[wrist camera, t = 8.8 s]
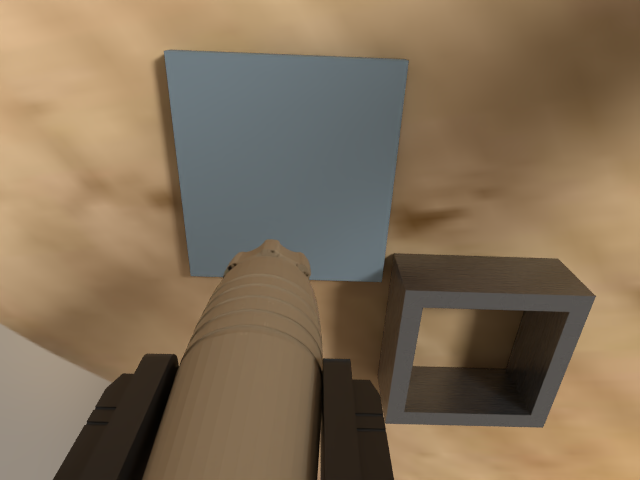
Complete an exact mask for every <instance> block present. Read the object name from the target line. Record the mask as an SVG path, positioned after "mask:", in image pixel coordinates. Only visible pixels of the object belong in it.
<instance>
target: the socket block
mask: <svg viewBox="0 0 640 480" xmlns="http://www.w3.org/2000/svg"><path fill="white" fill-rule="evenodd" d="M595 297H596V296H595V295H594V294H593V293H592V292H591V291H590V290H589V289H588V288H587V287H586V286H585V285H584V284H583V283H582V282H581V281H580V280H579V279H578V278H577V277H576V276H575V275H574V274H573V273H572V272H571V271H570V270H569V269H568V268H567V267H566V266H565V265H564V264H563V263H562V262H561V261H560V260H559V259H547V258H516V257H485V256H454V255H423V254H394V257H393V265H392V272H391V280H390V287H389V295H388V302H387V310H386V317H385V325H384V332H383V340H382V348H381V355H380V363H379V370H378V382H379V388H380V394H381V401H382V407H383V413H384V419H385V423H386V424H426V425H465V426H505V427H543V426H544V424H545V421H546V419H547V416H548V414H549V411H550V409H551V406H552V404H553V401H554V399H555V397H556V394H557V392H558V389H559V387H560V384H561V382H562V379H563V377H564V374H565V372H566V369H567V367H568V364H569V362H570V359H571V357H572V354H573V352H574V349H575V347H576V344H577V342H578V339H579V337H580V334H581V332H582V329H583V327H584V324H585V322H586V319H587V317H588V314H589V312H590V309H591V307H592V304H593V302H594V299H595ZM423 308H456V309H489V310H523V311H524V314H523V317H522V320H521V323H520V327H519V330H518V333H517V336H516V339H515V343H514V346H513V349H512V352H511V355H510V358H509V362H508V365H507V368H506V369H485V368H449V367H413V366H412V365H413V360H414V354H415V349H416V343H417V338H418V332H419V326H420V321H421V315H422V310H423Z"/></svg>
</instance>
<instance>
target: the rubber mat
mask: <svg viewBox="0 0 640 480" xmlns="http://www.w3.org/2000/svg"><path fill="white" fill-rule="evenodd" d="M164 56H165V64H166V73H167V81H168V89H169V98H170V106H171V114H172V123H173V131H174V140H175V148H176V156H177V165H178V173H179V181H180V190H181V198H182V207H183V215H184V223H185V232H186V240H187V248H188V257H189V265H190V273H191V276H205V277H223V274H224V272H225V270H226V268H227V266H228V265H229V263H230V262H231V260H232V259H233V258H234V257H235V256H236V254H238V253H239V252H249V251H252V250H254V249H256V248H258V247H259V246H261V245H262V244H263V243H264V241H265V240H267V239H274V240H278V241H279V242H280V244H281V245H282V246H283V247H285V248H286V249H288V250H290V251H293V252H301V253H303V254H304V255H305V256H306V258H307V259H308V261H309V264H310V269H311V276H310V277H309V280H333V281H365V282H382V276H383V267H384V259H385V251H386V243H387V235H388V226H389V218H390V210H391V202H392V194H393V185H394V177H395V169H396V161H397V153H398V145H399V136H400V128H401V120H402V112H403V104H404V95H405V87H406V79H407V71H408V63H409V61H408V60H406V59H387V58H362V57H337V56H313V55H288V54H263V53H238V52H213V51H188V50H166V51H164Z"/></svg>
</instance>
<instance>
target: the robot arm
mask: <svg viewBox="0 0 640 480" xmlns="http://www.w3.org/2000/svg"><path fill="white" fill-rule="evenodd" d="M178 368H179V365H178V359H177V356H176V355H175V354H146V355H144V357H143V358H142V360H141V362H140V364H139V366H138V368H137V369H136V371H135V373H134V374H122V375H121V376H120V377H118V378H117V379H116V380H115V381H114V382H113V383H112V384H111V385H109V386H108V387H107V388H106V389H105V391H104V393H103V394H102V396H101V398H100V400H99V402H98V403H97V405H96V408H95V410H93V412H92V413H91V415H90V417H89V419H88V420H87V424H86V425H84V427H83V429H82V431H81V432H80V434H79V436H78V437H77V439H76V441H75V443H74V445H73V446H72V448H71V450H70V452H69V453H68V455H67V456H66V458H65V460H64V462H63V463H62V465H61V467H60V469H59V470H58V472H57V474H56V475H55V477H54V479H53V480H142V478H143V475H144V472H145V469H146V466H147V463H148V460H149V456H150V453H151V450H152V447H153V444H154V441H155V438H156V435H157V432H158V429H159V425H160V422H161V419H162V416H163V413H164V410H165V407H166V404H167V401H168V397H169V394H170V391H171V388H172V385H173V382H174V379H175V376H176V373H177V370H178ZM321 480H394V477H393V471H392V465H391V459H390V453H389V447H388V440H387V434H386V428H385V422H384V417H383V410H382V404H381V397H380V395H379V393H378V392H377V390H376V389H375V387H374V386H373V384H372V383H371V381H370V380H352V372H351V362H350V359H323V370H322V416H321Z"/></svg>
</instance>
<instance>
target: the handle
mask: <svg viewBox="0 0 640 480" xmlns="http://www.w3.org/2000/svg"><path fill="white" fill-rule="evenodd" d="M310 276H311V269H310V264H309V261H308V259H307V258H306V256H305V255H304V254H303V253H301V252H293V251H290V250H288V249H286V248H285V247H283V246H282V245H281V244H280V242H279V241H278V240H274V239H267V240H265V241H264V243H263V244H262V245H261V246H259V247H258V248H256V249H254V250H252V251H249V252H239V253H238V254H236V256H235V257H234V258H233V259H232V260H231V262H230V263H229V265H228V266H227V268H226V270H225V272H224V274H223V280H222V281H221V282H220V284H219V285H218V287H217V288H216V290H215V291H214V293H213V295H212V296H211V298H210V300H209V302H208V304H207V306H206V308H205V310H204V312H203V314H202V316H201V318H200V320H199V322H198V324H197V326H196V328H195V330H194V333H193V335H192V337H191V339H190V342H189V344H188V346H187V349H186V351H185V353H184V356H183V358H182V360H181V363H180V366H179V368H178V370H177V373H176V376H175V379H174V382H173V385H172V388H171V391H170V394H169V397H168V401H167V404H166V407H165V410H164V413H163V416H162V419H161V422H160V425H159V429H158V432H157V435H156V438H155V441H154V444H153V447H152V450H151V453H150V456H149V460H148V463H147V466H146V469H145V472H144V475H143V478H142V480H317V474H318V459H319V445H320V430H321V416H322V370H323V353H322V337H321V327H320V318H319V312H318V307H317V301H316V297H315V294H314V290H313V288H312V286H311V283H310V282H309V277H310Z"/></svg>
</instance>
